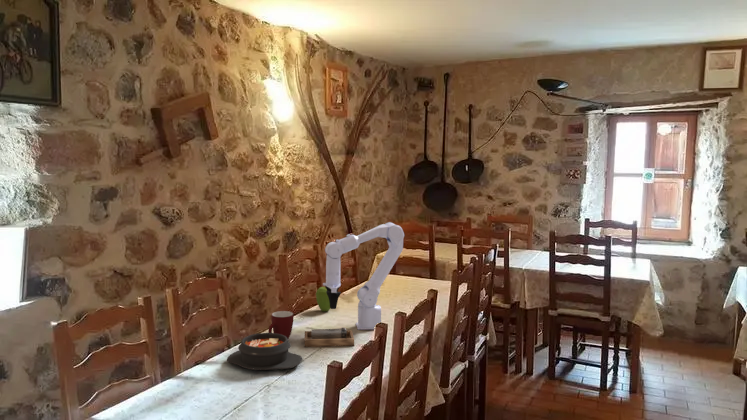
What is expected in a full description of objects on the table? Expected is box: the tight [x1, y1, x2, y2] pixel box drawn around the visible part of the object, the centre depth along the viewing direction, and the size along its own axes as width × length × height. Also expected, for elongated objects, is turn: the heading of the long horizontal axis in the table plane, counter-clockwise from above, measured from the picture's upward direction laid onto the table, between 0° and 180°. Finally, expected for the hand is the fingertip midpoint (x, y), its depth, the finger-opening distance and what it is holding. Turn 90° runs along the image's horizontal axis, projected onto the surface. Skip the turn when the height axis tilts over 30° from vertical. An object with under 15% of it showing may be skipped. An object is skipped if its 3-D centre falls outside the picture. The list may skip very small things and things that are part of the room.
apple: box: [315, 286, 331, 312], centre depth 239 cm, size 9×8×12 cm
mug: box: [267, 310, 294, 340], centre depth 199 cm, size 11×8×10 cm
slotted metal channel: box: [310, 327, 347, 339], centre depth 199 cm, size 13×2×4 cm, turn 97°
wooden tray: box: [304, 329, 355, 348], centre depth 199 cm, size 18×10×3 cm, turn 97°
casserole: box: [226, 332, 303, 371], centre depth 177 cm, size 25×19×8 cm
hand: (332, 306), depth 214 cm, fingers open, 7 cm apart
